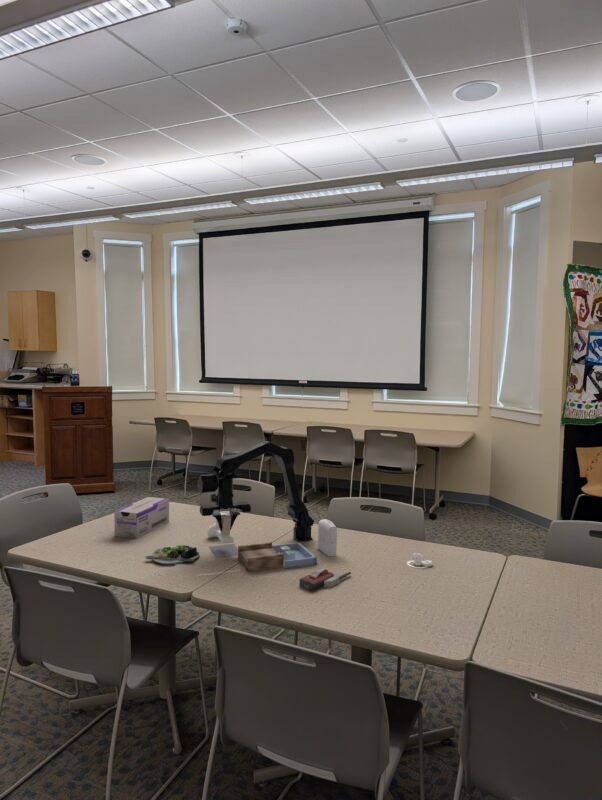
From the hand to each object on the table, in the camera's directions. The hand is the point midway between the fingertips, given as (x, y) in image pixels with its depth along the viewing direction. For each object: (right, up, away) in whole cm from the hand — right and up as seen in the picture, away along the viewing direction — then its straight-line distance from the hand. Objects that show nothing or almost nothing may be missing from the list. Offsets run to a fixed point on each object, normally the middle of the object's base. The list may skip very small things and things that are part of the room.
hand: (225, 530), depth 210 cm
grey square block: (+23, -7, -9) cm, 26 cm away
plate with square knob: (0, -3, 0) cm, 3 cm away
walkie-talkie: (+37, -11, -27) cm, 47 cm away
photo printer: (+39, -9, +2) cm, 40 cm away
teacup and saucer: (+72, -11, -13) cm, 74 cm away
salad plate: (-17, -9, -6) cm, 20 cm away
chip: (+22, -7, -5) cm, 23 cm away
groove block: (+14, -9, -10) cm, 20 cm away
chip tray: (+26, -9, -5) cm, 28 cm away
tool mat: (0, -8, +1) cm, 8 cm away
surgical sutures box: (-40, -6, +28) cm, 49 cm away
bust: (-5, -7, +19) cm, 21 cm away
